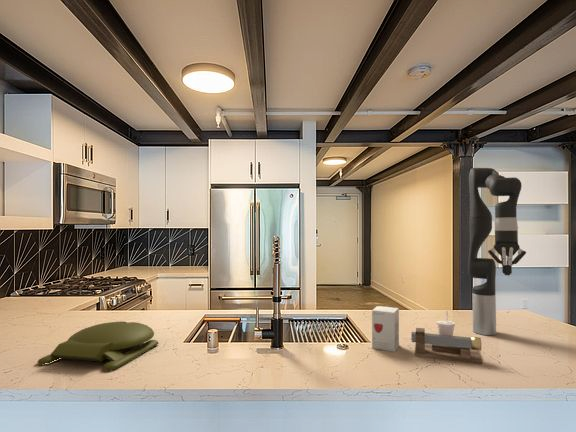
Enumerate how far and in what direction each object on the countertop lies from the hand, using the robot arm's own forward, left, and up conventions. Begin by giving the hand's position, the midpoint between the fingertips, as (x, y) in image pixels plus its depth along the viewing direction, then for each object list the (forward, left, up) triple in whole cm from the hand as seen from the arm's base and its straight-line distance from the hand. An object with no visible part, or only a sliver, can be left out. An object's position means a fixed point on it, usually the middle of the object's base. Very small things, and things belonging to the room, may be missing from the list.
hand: (507, 275), depth 136 cm
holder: (+9, -22, -29) cm, 37 cm away
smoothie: (+7, -22, -28) cm, 36 cm away
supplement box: (+11, -44, -29) cm, 54 cm away
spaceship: (+55, -142, -30) cm, 155 cm away
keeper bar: (+14, -23, -25) cm, 37 cm away
